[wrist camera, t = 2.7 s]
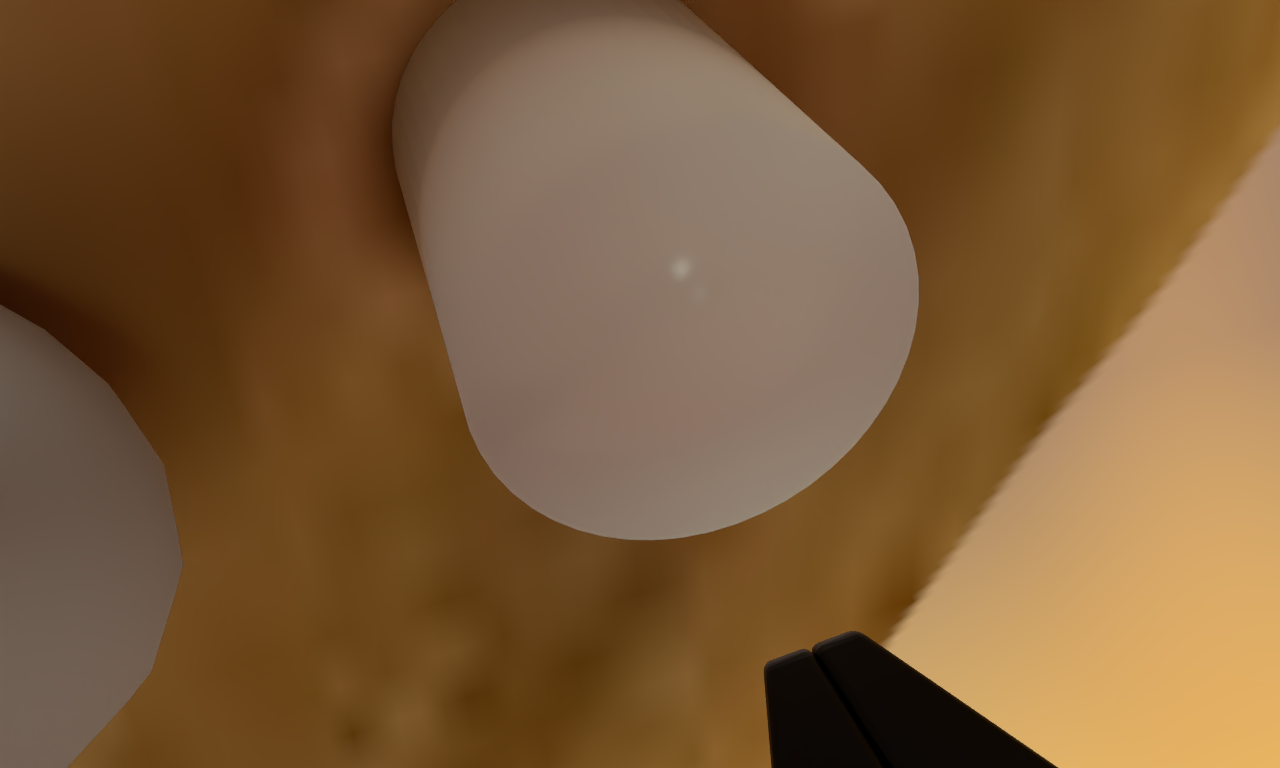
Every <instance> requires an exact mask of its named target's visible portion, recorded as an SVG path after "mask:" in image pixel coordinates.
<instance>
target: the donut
mask: <svg viewBox="0 0 1280 768" xmlns="http://www.w3.org/2000/svg"><path fill="white" fill-rule="evenodd" d="M182 566H183V560H182V554H181V549H180V543H179V537H178V532H177V527H176V522H175V517H174V512H173V506H172V501H171V496H170V491H169V486H168V481H167V476H166V471H165V466H164V464H163V462H162V461H161V460H160V458H159V457H158V455H157V454H156V452H155V451H154V449H153V448H152V446H151V445H150V443H149V442H148V440H147V439H146V437H145V436H144V434H143V433H142V431H141V430H140V428H139V427H138V425H137V424H136V423H135V421H134V420H133V418H132V417H131V415H130V414H129V412H128V411H127V409H126V408H125V406H124V405H123V403H122V402H121V400H120V399H119V398H118V396H117V395H116V394H115V392H114V391H113V390H112V388H111V387H110V385H109V384H108V383H107V382H106V381H105V380H103V379H102V378H101V377H100V376H99V375H98V374H96V373H95V372H94V371H93V370H92V369H91V368H89V367H88V366H87V365H86V364H85V363H83V362H82V361H81V360H80V359H79V358H78V357H76V356H75V355H74V354H73V353H72V352H71V351H69V350H68V349H67V348H66V347H65V346H63V345H62V344H61V343H60V342H59V341H58V340H56V339H55V338H54V337H53V336H52V335H51V334H49V333H48V332H47V331H46V330H45V329H43V328H41V327H39V326H37V325H36V324H34V323H32V322H30V321H29V320H27V319H25V318H23V317H22V316H20V315H18V314H16V313H14V312H13V311H11V310H9V309H7V308H6V307H4V306H2V305H0V768H67V767H68V766H69V765H70V764H71V763H72V762H73V761H74V760H75V758H76V757H77V756H78V755H79V754H80V753H81V752H82V751H83V750H84V749H85V748H86V746H87V745H88V744H89V743H90V742H91V741H92V740H93V739H94V738H95V737H96V736H97V735H98V733H99V732H100V731H101V730H102V729H103V728H104V727H105V726H106V725H107V724H108V723H109V721H110V720H111V719H112V718H113V717H114V716H115V715H116V714H117V713H118V712H119V711H120V709H121V708H122V707H123V706H124V705H125V704H126V703H127V702H128V701H129V700H130V699H131V697H132V696H133V695H134V693H135V692H136V691H137V689H138V688H139V687H140V686H141V684H142V683H143V682H144V680H145V679H146V678H147V676H148V675H149V674H150V672H151V671H152V668H153V665H154V661H155V658H156V655H157V652H158V648H159V645H160V642H161V639H162V635H163V632H164V629H165V626H166V622H167V619H168V616H169V613H170V610H171V606H172V603H173V600H174V597H175V593H176V589H177V586H178V582H179V578H180V574H181V570H182Z"/></svg>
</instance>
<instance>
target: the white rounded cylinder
mask: <svg viewBox="0 0 1280 768" xmlns="http://www.w3.org/2000/svg"><path fill="white" fill-rule="evenodd" d="M392 149H393V156H394V163H395V168H396V172H397V175H398V179H399V183H400V186H401V190H402V193H403V197H404V200H405V204H406V207H407V211H408V215H409V218H410V222H411V225H412V229H413V232H414V236H415V239H416V243H417V246H418V250H419V254H420V257H421V261H422V264H423V268H424V271H425V275H426V278H427V282H428V286H429V289H430V293H431V296H432V300H433V303H434V307H435V310H436V314H437V318H438V321H439V325H440V328H441V332H442V335H443V339H444V342H445V346H446V350H447V353H448V357H449V360H450V364H451V367H452V371H453V374H454V378H455V381H456V385H457V389H458V392H459V396H460V399H461V403H462V406H463V410H464V413H465V417H466V420H467V424H468V428H469V431H470V433H471V435H472V437H473V439H474V441H475V444H476V446H477V448H478V450H479V452H480V454H481V455H482V457H483V458H484V460H485V461H486V463H487V464H488V466H489V467H490V469H491V470H492V472H493V473H494V474H495V475H496V477H497V478H498V479H499V480H500V481H501V482H502V483H503V484H504V485H505V486H506V487H507V488H508V489H509V490H510V491H511V492H512V493H513V494H514V495H515V496H517V497H518V498H519V499H521V500H522V501H523V502H524V503H526V504H527V505H528V506H530V507H531V508H532V509H534V510H536V511H538V512H539V513H541V514H543V515H545V516H546V517H548V518H550V519H552V520H554V521H556V522H559V523H561V524H564V525H566V526H569V527H571V528H574V529H576V530H579V531H583V532H587V533H591V534H595V535H599V536H603V537H611V538H619V539H627V540H662V539H673V538H683V537H688V536H693V535H698V534H703V533H708V532H712V531H715V530H718V529H722V528H725V527H728V526H732V525H735V524H737V523H740V522H742V521H745V520H747V519H750V518H752V517H754V516H757V515H759V514H762V513H764V512H765V511H767V510H769V509H771V508H773V507H775V506H777V505H779V504H781V503H783V502H784V501H786V500H788V499H789V498H791V497H792V496H794V495H795V494H797V493H799V492H800V491H802V490H803V489H805V488H806V487H808V486H809V485H811V484H812V483H813V482H814V481H816V480H817V479H818V478H819V477H821V476H822V475H823V474H824V473H826V472H827V471H828V470H829V469H831V468H832V467H833V466H834V465H835V464H836V463H837V462H838V461H839V460H840V459H841V458H842V457H843V456H844V455H845V454H846V453H847V452H848V451H849V450H850V449H851V448H852V447H853V446H854V445H855V444H856V443H857V442H858V440H859V439H860V438H861V437H862V436H863V434H864V433H865V432H866V431H867V430H868V429H869V427H870V426H871V425H872V423H873V422H874V420H875V419H876V417H877V416H878V414H879V413H880V411H881V410H882V408H883V407H884V406H885V404H886V402H887V400H888V399H889V397H890V395H891V393H892V391H893V389H894V387H895V386H896V384H897V382H898V380H899V377H900V375H901V372H902V370H903V367H904V365H905V362H906V360H907V357H908V355H909V351H910V347H911V344H912V340H913V336H914V332H915V328H916V320H917V313H918V305H919V277H918V270H917V263H916V257H915V251H914V248H913V245H912V242H911V238H910V235H909V232H908V229H907V226H906V224H905V222H904V220H903V218H902V216H901V214H900V212H899V210H898V208H897V207H896V205H895V203H894V202H893V200H892V199H891V198H890V196H889V195H888V193H887V192H886V191H885V189H884V188H883V187H882V185H881V184H880V183H879V182H878V181H877V180H876V179H875V178H874V177H873V176H872V175H871V174H870V173H869V172H868V171H867V170H866V169H865V168H864V167H863V166H862V165H861V164H860V163H859V162H858V161H856V160H855V159H854V158H853V157H852V156H851V155H850V154H849V153H848V152H847V151H845V150H844V149H843V148H842V147H841V146H840V145H839V144H838V143H837V142H836V141H834V140H833V139H832V138H831V137H830V136H829V135H828V134H827V133H826V132H825V131H823V130H822V129H821V128H820V127H819V126H818V125H817V124H816V123H815V122H813V121H812V120H811V119H810V118H809V117H808V116H807V115H806V114H805V113H804V112H802V111H801V110H800V109H799V108H798V107H797V106H796V105H795V104H794V103H793V102H791V101H790V100H789V99H788V98H787V97H786V96H785V95H784V94H783V93H781V92H780V91H779V90H778V89H777V88H776V87H775V86H774V85H773V84H772V83H770V82H769V81H768V80H767V79H766V78H765V77H764V76H763V75H762V74H761V73H759V72H758V71H757V70H756V69H755V68H754V67H753V66H752V65H751V64H750V63H748V62H747V61H746V60H745V59H744V58H743V57H742V56H741V55H740V54H738V53H737V52H736V51H735V50H734V49H733V48H732V47H731V46H730V45H729V44H727V43H726V42H725V41H724V40H723V39H722V38H721V37H720V36H719V35H718V34H716V33H715V32H714V31H713V30H712V29H711V28H710V27H709V26H708V25H707V24H705V23H704V22H703V21H702V20H701V19H700V18H699V17H698V16H697V15H695V14H694V13H693V12H692V11H691V10H690V9H689V8H688V7H687V6H686V5H684V4H683V3H682V2H681V1H680V0H456V1H455V2H454V3H453V4H452V5H451V6H450V7H449V8H448V9H447V10H446V11H445V12H443V13H442V14H441V15H440V16H439V17H438V19H437V20H436V21H435V22H434V23H433V25H432V26H431V27H430V28H429V30H428V31H427V32H426V33H425V35H424V36H423V37H422V39H421V41H420V42H419V44H418V46H417V47H416V49H415V51H414V52H413V54H412V55H411V58H410V60H409V62H408V64H407V67H406V69H405V71H404V73H403V76H402V78H401V82H400V85H399V89H398V92H397V96H396V99H395V105H394V112H393V119H392Z"/></svg>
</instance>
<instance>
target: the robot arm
mask: <svg viewBox="0 0 1280 768" xmlns="http://www.w3.org/2000/svg"><path fill="white" fill-rule="evenodd" d="M764 681H765V694H766V706H767V718H768V730H769V742H770V754H771V766H772V768H1058V767H1056V766H1055V765H1053V764H1052V763H1050V762H1049V761H1047V760H1046V759H1045V758H1043V757H1042V756H1040V755H1039V754H1037V753H1036V752H1034V751H1033V750H1032V749H1030V748H1029V747H1027V746H1026V745H1024V744H1023V743H1021V742H1020V741H1018V740H1017V739H1016V738H1014V737H1013V736H1011V735H1010V734H1008V733H1007V732H1005V731H1004V730H1002V729H1001V728H1000V727H998V726H997V725H995V724H994V723H992V722H991V721H989V720H988V719H986V718H985V717H983V716H982V715H980V714H979V713H978V712H976V711H975V710H973V709H972V708H970V707H969V706H968V705H966V704H965V703H963V702H962V701H960V700H959V699H957V698H956V697H954V696H953V695H951V694H950V693H949V692H947V691H946V690H944V689H943V688H941V687H940V686H938V685H937V684H936V683H934V682H933V681H931V680H930V679H928V678H927V677H925V676H924V675H923V674H921V673H920V672H918V671H917V670H915V669H914V668H912V667H911V666H909V665H908V664H907V663H905V662H904V661H902V660H901V659H899V658H898V657H896V656H895V655H893V654H892V653H891V652H889V651H888V650H886V649H885V648H883V647H882V646H880V645H879V644H877V643H876V642H875V641H873V640H872V639H870V638H869V637H867V636H866V635H864V634H862V633H860V632H856V631H850V632H846V633H843V634H841V635H838V636H835V637H833V638H830V639H827V640H825V641H822V642H819V643H817V644H816V645H814V647H813V648H812V653H811V652H810V651H809V650H806V649H801V650H798V651H795V652H792V653H790V654H787V655H784V656H782V657H779V658H776V659H774V660H771V661H769V662H767V664H766V665H765V667H764Z"/></svg>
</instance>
